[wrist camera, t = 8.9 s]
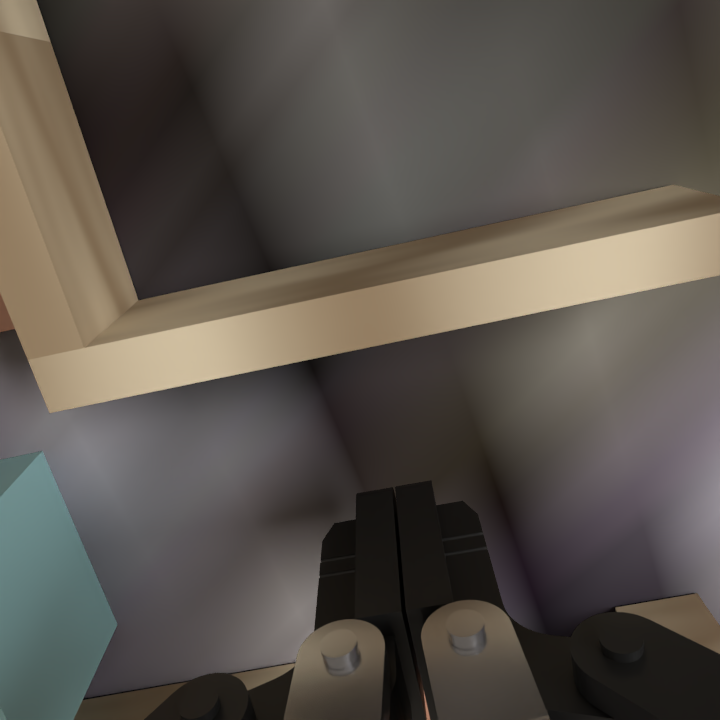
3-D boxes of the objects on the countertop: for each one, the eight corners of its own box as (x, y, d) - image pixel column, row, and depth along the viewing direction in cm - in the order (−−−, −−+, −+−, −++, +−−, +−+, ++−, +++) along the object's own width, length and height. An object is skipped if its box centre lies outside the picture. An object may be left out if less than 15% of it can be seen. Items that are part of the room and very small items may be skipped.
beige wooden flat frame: (652, -177, 11) (823, -341, 7) (708, 793, 19) (807, 987, 15) (-541, 126, 13) (-969, 136, 9) (-44, 909, 21) (-146, 1112, 17)
